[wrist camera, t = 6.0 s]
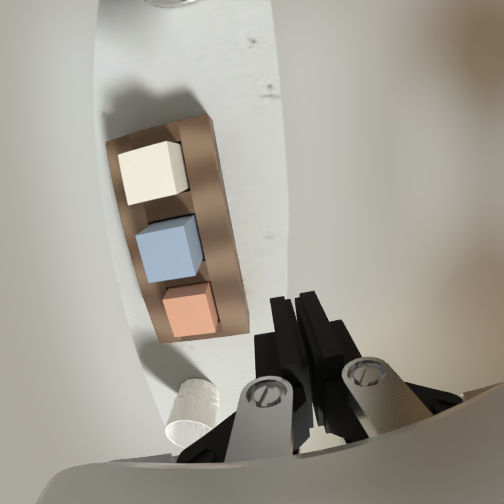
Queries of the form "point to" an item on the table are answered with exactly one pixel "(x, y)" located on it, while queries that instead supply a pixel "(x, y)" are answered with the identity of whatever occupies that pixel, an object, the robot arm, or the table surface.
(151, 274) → the slate key
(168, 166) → the cream key
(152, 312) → the brown long flat block
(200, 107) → the table surface
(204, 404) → the white cup
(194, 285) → the peach block
